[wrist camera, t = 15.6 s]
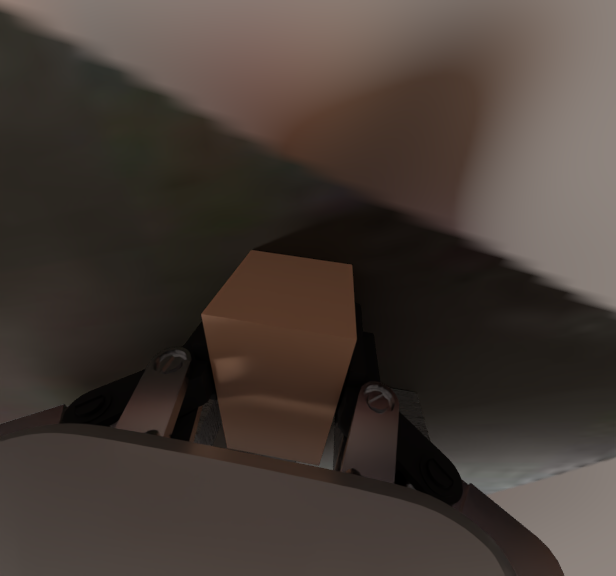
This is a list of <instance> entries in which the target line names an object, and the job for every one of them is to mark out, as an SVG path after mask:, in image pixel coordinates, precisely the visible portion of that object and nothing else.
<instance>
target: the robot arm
mask: <svg viewBox="0 0 616 576" xmlns="http://www.w3.org/2000/svg"><path fill="white" fill-rule="evenodd" d="M355 318H356V334H357V340H356V344H355V347H354V350H353V354H352V357H351V360H350V364H349V367H348V370H347V374H346V377H345V380H344V384H343V387H342V390H341V394H340V397H339V400H338V404H337V407H336V410H335V423H338V428H339V429H340V430H341V432H342V433H343V437H342V441H341V445H340V449H339V453H338V457H337V461H336V465H335V470H329V469H324V468H319V467H314V466H309V465H304V464H300V463H295V462H290V461H285V460H280V459H275V458H270V457H265V456H259V455H254V454H249V453H244V452H239V451H234V450H229V449H224V448H219V447H214V446H209V445H204V444H198V443H193V442H194V438H195V434H196V430H197V427H198V423H199V419H200V415H201V411H202V407H203V405H204V404H205V403H207V402H208V401H209V399H211V400H216V401H217V399H218V398H217V393H216V388H215V383H214V377H213V372H212V367H211V362H210V357H209V352H208V347H207V342H206V336H205V331H204V326H203V321H202V322H201V323H200V325H199V326H198V327H197V329H196V330H195V332H194V333H193V334H192V336H191V337H190V338H189V340H188V341H187V342H186V344H185V345H184V346H183V347H170V348H167V349H164V350H162V351H160V352H159V353H157V354H156V355H155V356H154V357H153V358H152V359H151V361H150V362H149V364H148V366H147V368H146V369H145V370H142V371H140V372H137V373H135V374H132V375H130V376H127V377H125V378H122V379H120V380H117V381H115V382H112V383H110V384H107V385H105V386H102V387H100V388H97V389H95V390H92V391H90V392H88V393H86V394H84V395H82V396H80V397H79V398H78V399H76V400H75V401H74V402H73V403H72V404H71V405H70V406H66V405H65V404H63V405H60V406H56V407H53V408H50V409H47V410H43V411H40V412H37V413H34V414H31V415H27V416H24V417H21V418H18V419H15V420H11V421H8V422H5V423H2V424H0V576H564V573H563V571H562V569H561V567H560V565H559V562H558V560H557V559H556V558H555V556H554V555H553V554H552V552H551V551H550V549H549V548H548V547H547V546H546V545H545V544H544V543H543V542H542V541H541V540H540V539H539V538H538V537H537V536H535V535H534V534H533V533H532V532H531V531H529V530H528V529H527V528H526V527H524V526H523V525H522V524H521V523H519V522H518V521H517V520H516V519H514V518H513V517H512V516H511V515H510V514H508V513H507V512H506V511H505V510H504V509H502V508H501V507H500V506H499V505H497V504H496V503H495V502H494V501H493V500H491V499H490V498H489V497H488V496H486V495H485V494H484V493H483V492H482V491H480V490H479V489H478V488H477V487H475V486H474V485H473V484H472V483H470V484H469V485H468V484H467V483H466V482H464V481H463V480H462V479H461V477H460V474H459V473H458V471H457V469H456V468H455V466H454V465H453V464H452V462H451V461H450V460H449V459H448V458H447V457H446V456H445V455H444V454H443V453H442V452H441V451H440V450H439V449H438V448H437V447H436V446H435V445H434V444H433V443H431V442H430V441H429V440H428V439H427V438H426V437H425V436H424V435H423V434H422V433H421V432H420V431H419V430H418V429H417V428H416V427H415V426H414V425H413V424H412V423H411V422H410V421H409V420H408V419H407V418H406V417H405V416H404V415H403V414H402V413H401V412H400V411H399V401H398V398H397V396H396V394H395V393H394V392H393V390H392V389H391V388H389V387H388V386H387V385H385V384H383V383H381V382H380V377H379V370H378V363H377V355H376V348H375V341H374V335H373V333H367V332H363V328H362V316H361V305H360V304H357V303H355Z"/></svg>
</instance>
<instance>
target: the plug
mask: <svg viewBox="0 0 616 576" xmlns="http://www.w3.org/2000/svg"><path fill="white" fill-rule="evenodd" d="M201 316H202V321H203V326H204V331H205V336H206V342H207V347H208V352H209V357H210V362H211V367H212V372H213V377H214V383H215V388H216V393H217V398H218V403H219V408H220V413H221V419H222V424H223V429H224V434H225V439H226V444H227V448H230V449H235V450H240V451H245V452H251V453H256V454H261V456H265V457H270V458H275V459H280V460H285V461H290V462H295V463H296V461H298V462H303V463H308V464H314V465H319V464H320V460H321V457H322V454H323V450H324V447H325V444H326V440H327V437H328V434H329V430H330V427H331V424H332V420H333V417H334V414H335V410H336V407H337V404H338V400H339V397H340V394H341V390H342V387H343V384H344V380H345V377H346V374H347V370H348V367H349V364H350V360H351V357H352V354H353V350H354V347H355V344H356V340H357V334H356V318H355V301H354V285H353V269H352V265H350V264H344V263H337V262H330V261H323V260H316V259H310V258H303V257H296V256H289V255H282V254H276V253H269V252H262V251H255V250H251V251H250V252H249V254H248V255H247V256H246V257H245V259H244V260H243V261H242V263H241V264H240V265H239V266H238V268H237V269H236V270H235V271H234V273H233V274H232V275H231V277H230V278H229V279H228V280H227V282H226V283H225V284H224V285H223V287H222V288H221V289H220V291H219V292H218V293H217V294H216V296H215V297H214V298H213V299H212V301H211V302H210V303H209V305H208V306H207V307H206V308H205V310H204V311H203V312H202V314H201Z"/></svg>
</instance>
